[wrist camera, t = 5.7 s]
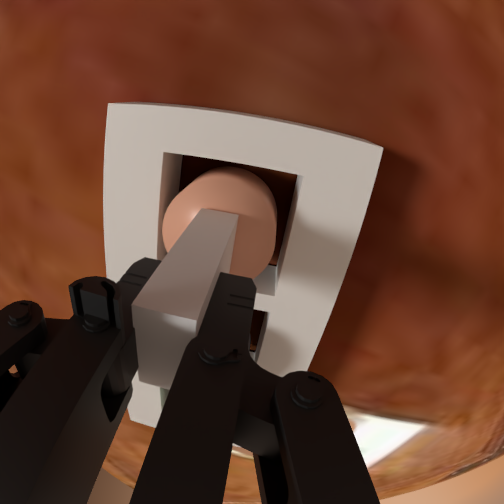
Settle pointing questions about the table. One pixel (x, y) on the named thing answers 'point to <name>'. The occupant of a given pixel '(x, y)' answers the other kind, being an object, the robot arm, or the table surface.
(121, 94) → the table surface
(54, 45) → the table surface
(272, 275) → the board
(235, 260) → the button terracotta
